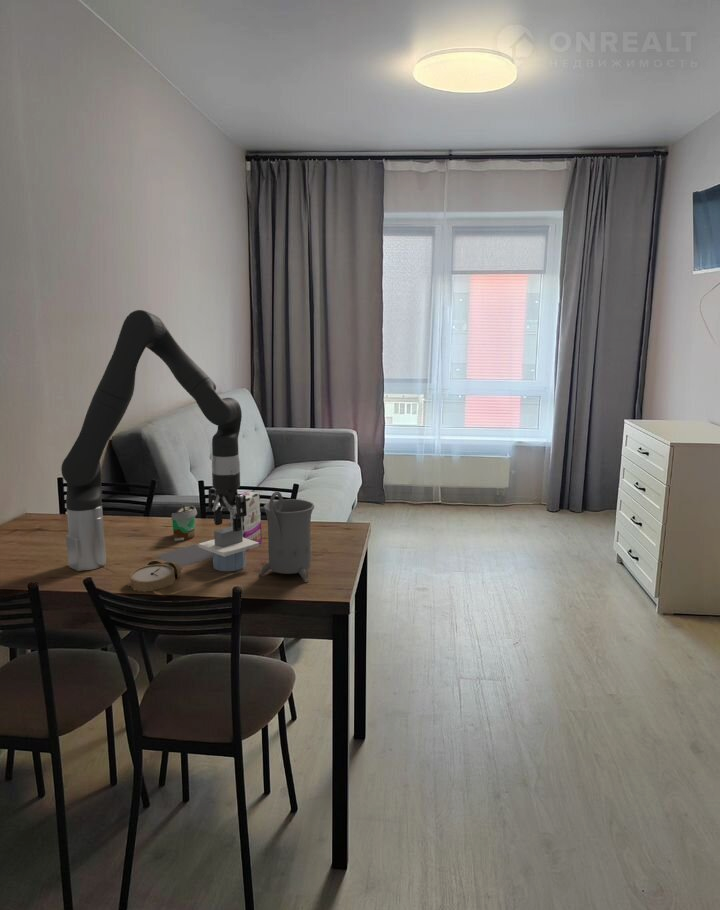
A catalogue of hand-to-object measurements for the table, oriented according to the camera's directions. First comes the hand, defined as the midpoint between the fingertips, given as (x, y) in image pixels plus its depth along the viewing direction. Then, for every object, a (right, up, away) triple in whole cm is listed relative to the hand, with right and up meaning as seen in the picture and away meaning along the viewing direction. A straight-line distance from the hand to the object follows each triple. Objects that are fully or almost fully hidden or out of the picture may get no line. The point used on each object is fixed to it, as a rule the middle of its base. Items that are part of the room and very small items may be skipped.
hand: (227, 527), depth 189 cm
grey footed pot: (+17, -13, -4) cm, 22 cm away
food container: (-18, -7, +28) cm, 34 cm away
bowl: (0, -11, +2) cm, 12 cm away
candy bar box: (+2, -8, +19) cm, 21 cm away
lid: (0, -5, +1) cm, 6 cm away
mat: (-14, -10, +11) cm, 20 cm away
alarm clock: (-17, -14, -8) cm, 24 cm away
